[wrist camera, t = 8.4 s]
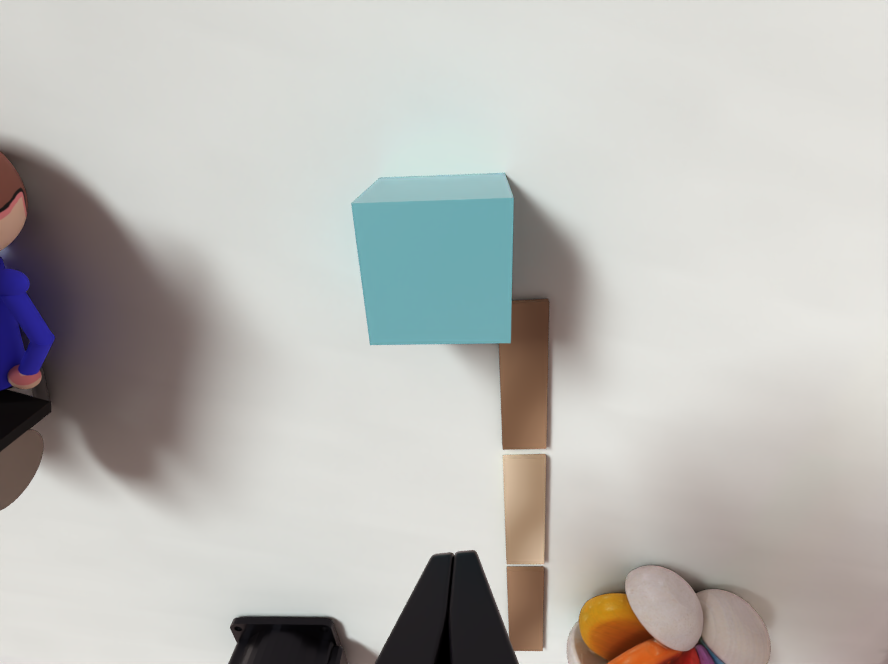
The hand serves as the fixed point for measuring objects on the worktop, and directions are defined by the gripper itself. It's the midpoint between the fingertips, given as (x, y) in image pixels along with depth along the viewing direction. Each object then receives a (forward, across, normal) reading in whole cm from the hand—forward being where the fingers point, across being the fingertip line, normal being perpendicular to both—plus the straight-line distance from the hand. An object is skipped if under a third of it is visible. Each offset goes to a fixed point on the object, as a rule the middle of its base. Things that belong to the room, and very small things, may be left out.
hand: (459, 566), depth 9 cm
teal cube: (+12, 0, -3) cm, 12 cm away
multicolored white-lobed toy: (+12, -7, +20) cm, 25 cm away
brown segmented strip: (+12, -1, +12) cm, 16 cm away
